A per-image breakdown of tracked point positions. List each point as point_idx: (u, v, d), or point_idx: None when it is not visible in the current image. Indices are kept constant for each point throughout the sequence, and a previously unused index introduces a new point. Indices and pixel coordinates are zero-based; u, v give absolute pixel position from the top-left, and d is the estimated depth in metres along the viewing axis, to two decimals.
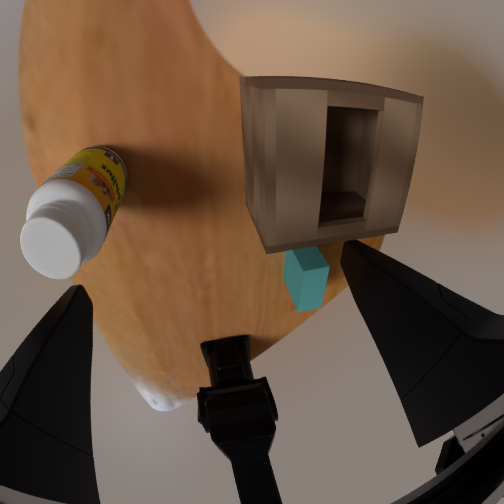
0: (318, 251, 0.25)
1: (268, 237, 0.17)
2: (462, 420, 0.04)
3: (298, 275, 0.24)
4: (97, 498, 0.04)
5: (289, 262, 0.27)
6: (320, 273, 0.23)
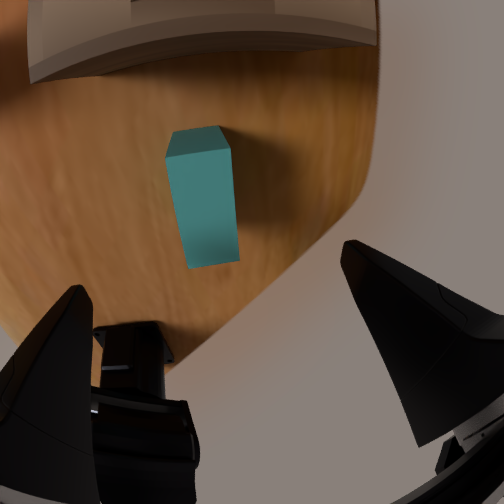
0: (220, 136, 0.11)
1: (30, 46, 0.04)
2: (462, 420, 0.04)
3: None
4: (97, 498, 0.04)
5: None
6: (211, 166, 0.10)
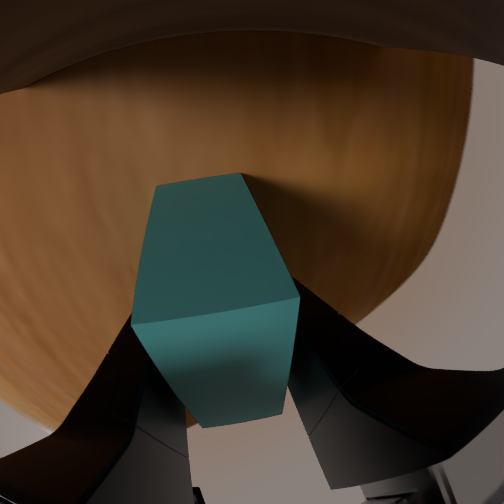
0: (256, 221, 0.06)
1: None
2: (356, 483, 0.04)
3: None
4: None
5: None
6: (248, 334, 0.04)
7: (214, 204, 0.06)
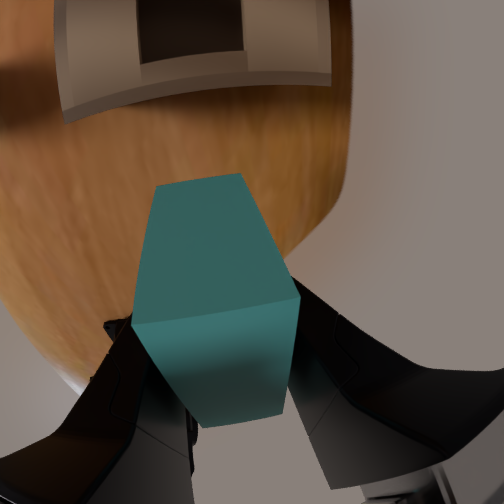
0: (256, 221, 0.06)
1: (62, 94, 0.07)
2: (356, 483, 0.04)
3: None
4: None
5: None
6: (248, 334, 0.04)
7: (214, 204, 0.06)
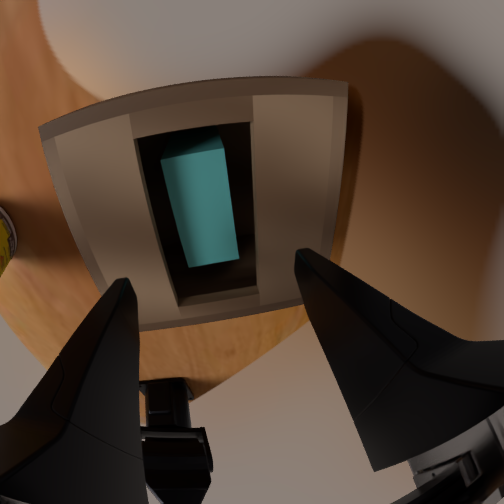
0: (216, 136, 0.12)
1: None
2: (411, 455, 0.04)
3: None
4: None
5: None
6: (205, 167, 0.10)
7: (199, 134, 0.12)
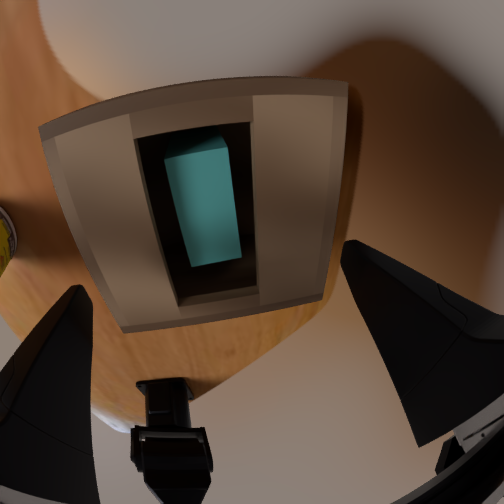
0: (218, 136, 0.12)
1: (116, 318, 0.12)
2: (462, 420, 0.04)
3: None
4: (97, 498, 0.04)
5: None
6: (209, 166, 0.10)
7: (200, 134, 0.12)
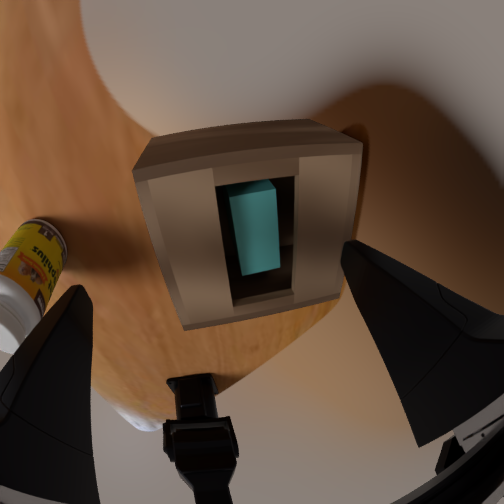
0: None
1: (180, 318, 0.16)
2: (462, 420, 0.04)
3: (230, 210, 0.15)
4: (97, 498, 0.04)
5: (225, 201, 0.18)
6: (262, 202, 0.14)
7: None
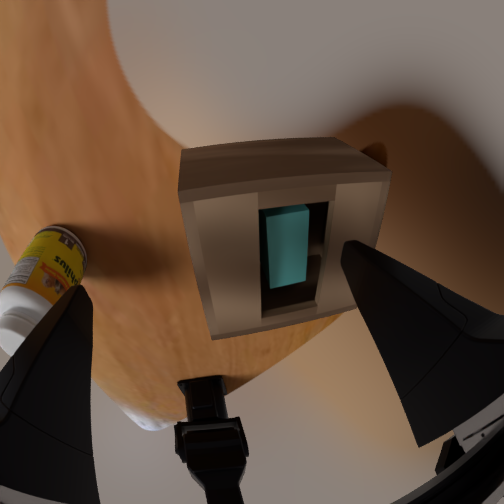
0: None
1: (210, 329, 0.17)
2: (462, 420, 0.04)
3: (263, 227, 0.16)
4: (97, 498, 0.04)
5: None
6: (295, 222, 0.15)
7: None
